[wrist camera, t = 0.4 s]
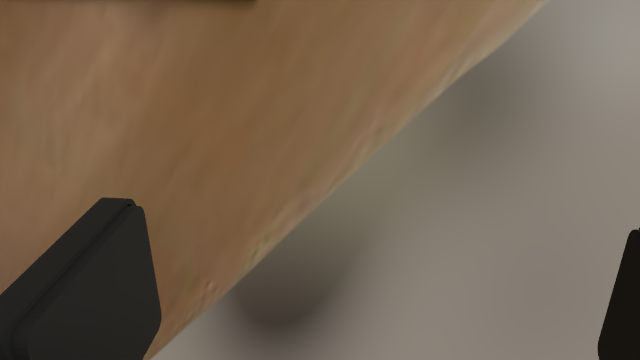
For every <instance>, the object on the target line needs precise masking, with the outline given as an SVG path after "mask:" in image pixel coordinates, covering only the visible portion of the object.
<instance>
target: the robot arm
mask: <svg viewBox="0 0 640 360" xmlns="http://www.w3.org/2000/svg"><path fill="white" fill-rule="evenodd" d="M160 323H161V308H160V302H159V296H158V290H157V284H156V278H155V272H154V267H153V261H152V255H151V249H150V243H149V237H148V231H147V225H146V219H145V214H144V210H143V208H142V207H140V206H136V204H135V202H134V201H133V200H132V199H124V198H101V199H100V200H99V201H98V202H96V203H95V204H94V205H93V206H92V207H91V208H90V209H89V210H88V211H87V212H86V213H85V214H84V215H83V216H82V217H81V218H80V219H79V220H78V221H77V222H76V223H75V224H74V225H73V226H72V227H71V228H70V229H68V230H67V231H66V232H65V233H64V234H63V235H62V236H61V237H60V238H59V239H58V240H57V241H56V242H55V243H54V244H53V245H52V246H51V247H50V248H49V249H48V250H47V251H46V252H45V253H44V254H43V255H41V256H40V257H39V258H38V259H37V260H36V261H35V262H34V263H33V264H32V265H31V266H30V267H29V268H28V269H27V270H26V271H25V272H24V273H23V274H22V275H21V276H20V277H19V278H18V279H17V280H16V281H14V282H13V283H12V284H11V285H10V286H9V287H8V288H7V289H6V290H5V291H4V292H3V293H2V294H1V295H0V360H142V359H143V357H144V355H145V353H146V352H147V350H148V348H149V346H150V344H151V343H152V341H153V339H154V337H155V335H156V334H157V332H158V330H159V327H160ZM598 356H599V360H640V228H639V230H632V231H631V232H630V234H629V236H628V239H627V243H626V246H625V250H624V253H623V257H622V260H621V264H620V267H619V271H618V274H617V278H616V282H615V285H614V288H613V292H612V295H611V299H610V302H609V306H608V309H607V313H606V316H605V320H604V323H603V327H602V330H601V334H600V337H599V341H598Z"/></svg>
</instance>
